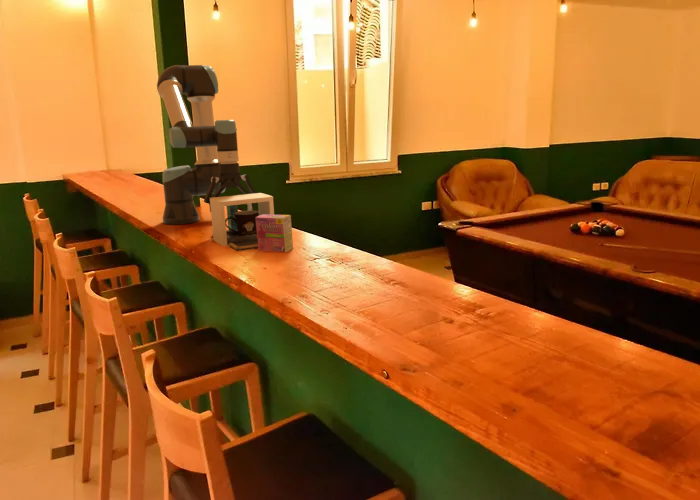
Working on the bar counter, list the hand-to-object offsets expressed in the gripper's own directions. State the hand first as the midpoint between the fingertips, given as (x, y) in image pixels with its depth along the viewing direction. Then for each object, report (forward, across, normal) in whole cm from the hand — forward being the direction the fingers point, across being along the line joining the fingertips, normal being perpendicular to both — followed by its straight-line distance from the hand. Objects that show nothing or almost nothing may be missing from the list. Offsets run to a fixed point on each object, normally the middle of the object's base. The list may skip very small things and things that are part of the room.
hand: (233, 219), depth 211 cm
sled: (+6, 0, -8) cm, 9 cm away
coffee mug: (+6, 0, -12) cm, 13 cm away
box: (+7, +4, -32) cm, 33 cm away
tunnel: (+6, 0, -12) cm, 13 cm away
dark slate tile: (+6, 0, -23) cm, 24 cm away
